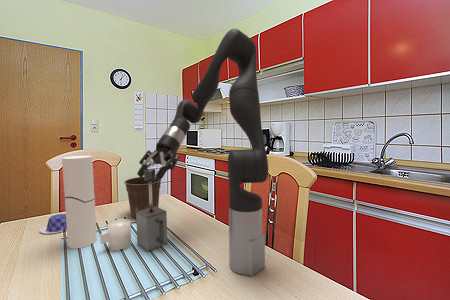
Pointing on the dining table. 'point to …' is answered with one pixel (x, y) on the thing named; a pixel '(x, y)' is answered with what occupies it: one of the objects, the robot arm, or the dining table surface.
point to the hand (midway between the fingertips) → (148, 177)
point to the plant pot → (141, 194)
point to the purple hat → (55, 224)
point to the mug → (117, 235)
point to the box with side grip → (151, 228)
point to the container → (79, 201)
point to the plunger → (150, 184)
